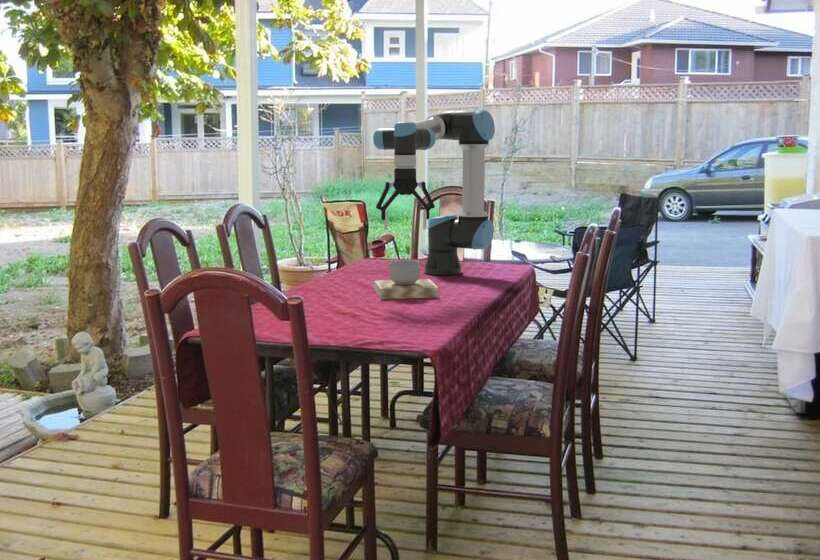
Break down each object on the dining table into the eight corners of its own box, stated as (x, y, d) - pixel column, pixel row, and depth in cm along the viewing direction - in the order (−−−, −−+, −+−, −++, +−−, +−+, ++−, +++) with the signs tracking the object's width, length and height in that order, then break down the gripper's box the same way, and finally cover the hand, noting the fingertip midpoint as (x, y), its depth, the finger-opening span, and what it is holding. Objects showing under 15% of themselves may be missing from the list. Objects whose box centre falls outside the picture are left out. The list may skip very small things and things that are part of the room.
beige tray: (429, 288, 320) (429, 278, 319) (438, 297, 302) (438, 286, 302) (374, 290, 317) (374, 280, 316) (380, 299, 299) (380, 288, 299)
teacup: (416, 287, 301) (416, 263, 300) (385, 286, 303) (385, 263, 302) (424, 280, 315) (424, 258, 314) (394, 279, 317) (394, 257, 316)
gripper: (438, 166, 308) (438, 227, 312) (367, 167, 305) (368, 228, 308) (442, 167, 301) (442, 229, 305) (370, 168, 297) (370, 231, 301)
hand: (405, 229), depth 306 cm, fingers open, 13 cm apart
